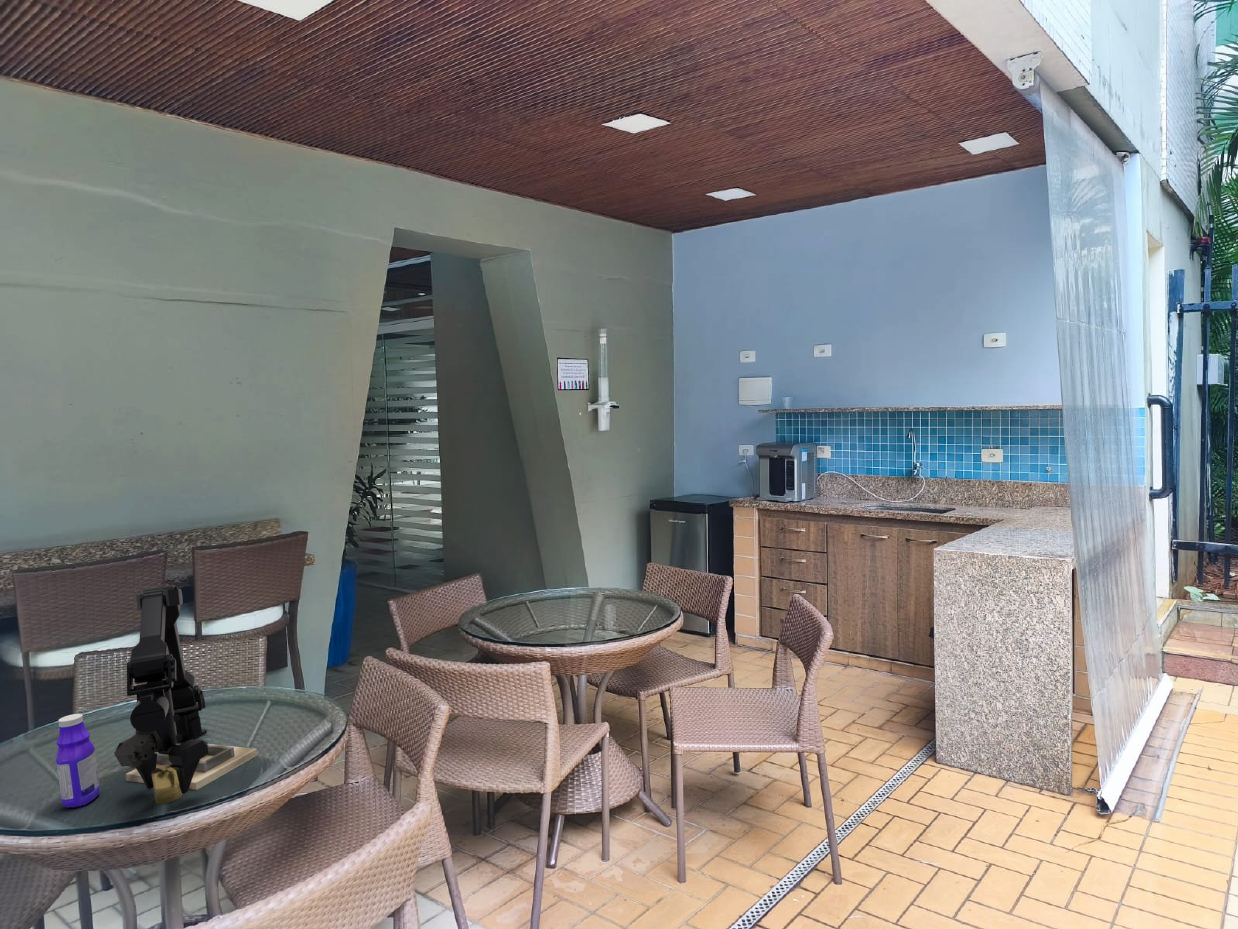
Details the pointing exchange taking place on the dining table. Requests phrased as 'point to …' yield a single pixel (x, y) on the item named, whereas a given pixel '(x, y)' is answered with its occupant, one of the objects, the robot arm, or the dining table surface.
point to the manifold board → (207, 764)
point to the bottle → (76, 763)
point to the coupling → (165, 784)
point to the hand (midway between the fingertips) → (167, 790)
